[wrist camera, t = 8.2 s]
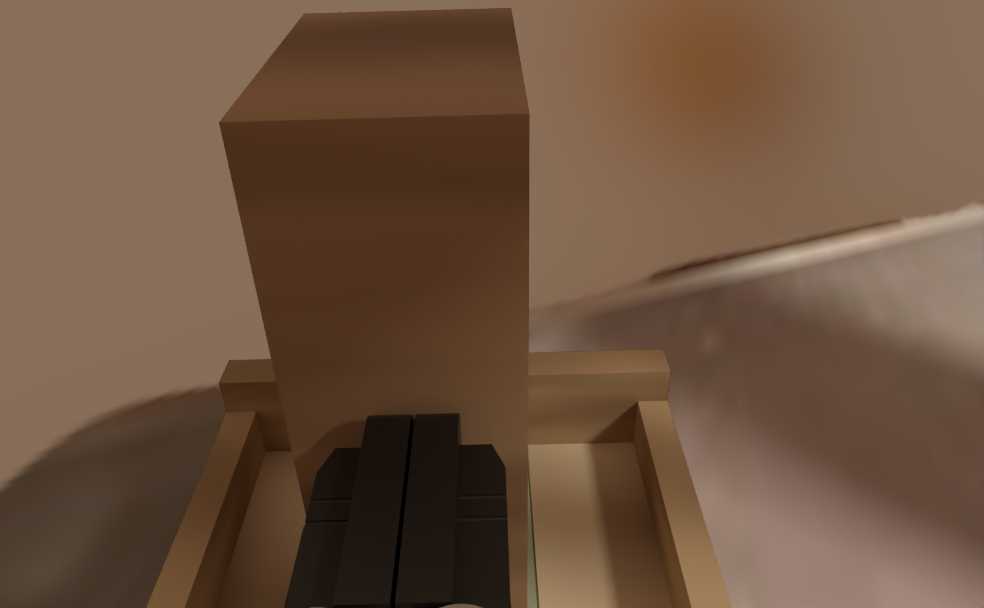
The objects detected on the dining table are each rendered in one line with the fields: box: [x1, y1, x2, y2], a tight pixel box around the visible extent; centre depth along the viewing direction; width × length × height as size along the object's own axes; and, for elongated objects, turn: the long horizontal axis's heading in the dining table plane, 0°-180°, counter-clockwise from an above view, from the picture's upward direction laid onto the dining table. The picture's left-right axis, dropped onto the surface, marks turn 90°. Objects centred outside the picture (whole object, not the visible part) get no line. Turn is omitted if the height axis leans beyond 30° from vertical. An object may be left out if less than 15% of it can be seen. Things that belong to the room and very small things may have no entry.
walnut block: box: [219, 8, 529, 608], centre depth 16 cm, size 6×4×12 cm, turn 1°
